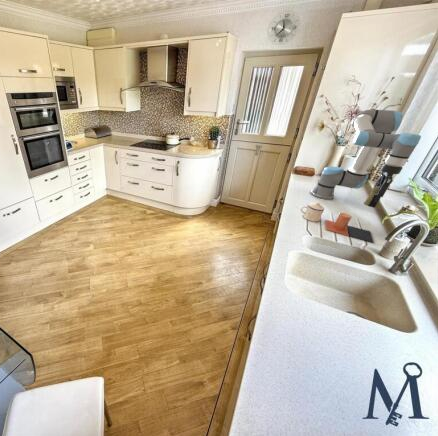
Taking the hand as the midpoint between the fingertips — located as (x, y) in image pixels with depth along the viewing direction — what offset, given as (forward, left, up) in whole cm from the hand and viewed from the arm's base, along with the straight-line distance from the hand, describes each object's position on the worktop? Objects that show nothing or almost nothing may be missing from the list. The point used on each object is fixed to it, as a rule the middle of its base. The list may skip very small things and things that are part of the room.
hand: (370, 204), depth 133 cm
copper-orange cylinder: (+2, -8, -18) cm, 20 cm away
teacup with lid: (-2, -25, -19) cm, 31 cm away
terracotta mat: (+2, -9, -18) cm, 21 cm away
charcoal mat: (+2, +2, -18) cm, 19 cm away
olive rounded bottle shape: (0, 0, 0) cm, 0 cm away
